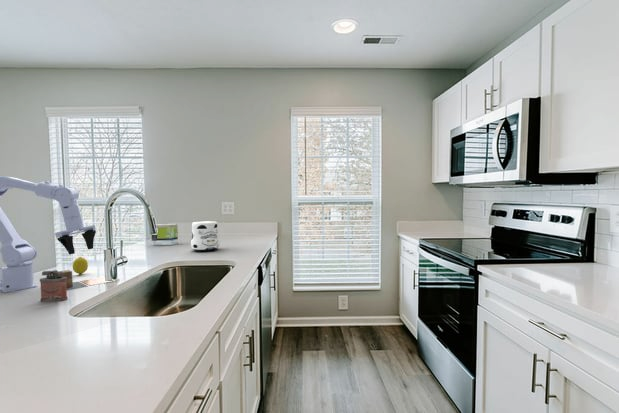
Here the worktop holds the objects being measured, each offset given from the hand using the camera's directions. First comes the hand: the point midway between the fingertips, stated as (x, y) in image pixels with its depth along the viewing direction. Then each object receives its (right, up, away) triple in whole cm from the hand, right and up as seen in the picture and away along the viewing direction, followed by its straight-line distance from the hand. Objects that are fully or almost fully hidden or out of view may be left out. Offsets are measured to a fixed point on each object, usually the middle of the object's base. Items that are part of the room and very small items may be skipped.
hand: (81, 251), depth 127 cm
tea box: (-16, -10, +109) cm, 111 cm away
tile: (+3, -13, +4) cm, 14 cm away
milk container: (+23, -11, +79) cm, 83 cm away
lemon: (-12, -13, +17) cm, 25 cm away
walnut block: (-4, -13, -4) cm, 14 cm away
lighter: (+5, -14, -20) cm, 24 cm away
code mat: (-4, -13, -4) cm, 14 cm away
